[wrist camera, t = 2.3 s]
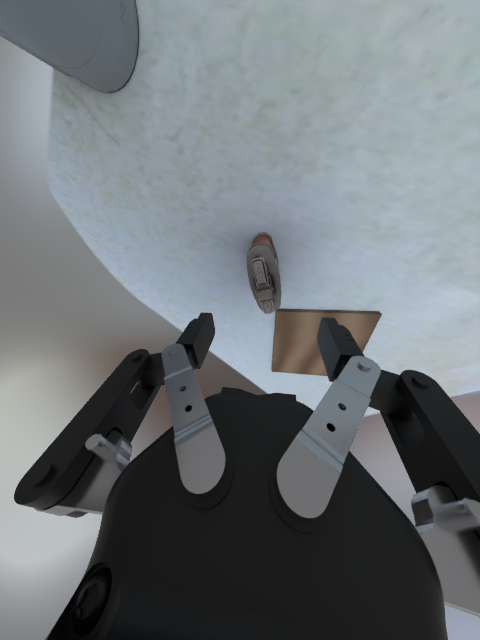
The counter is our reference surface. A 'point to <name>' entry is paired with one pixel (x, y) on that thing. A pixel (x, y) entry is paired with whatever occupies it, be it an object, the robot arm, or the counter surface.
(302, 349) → the board
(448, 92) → the counter surface
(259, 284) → the lighter
